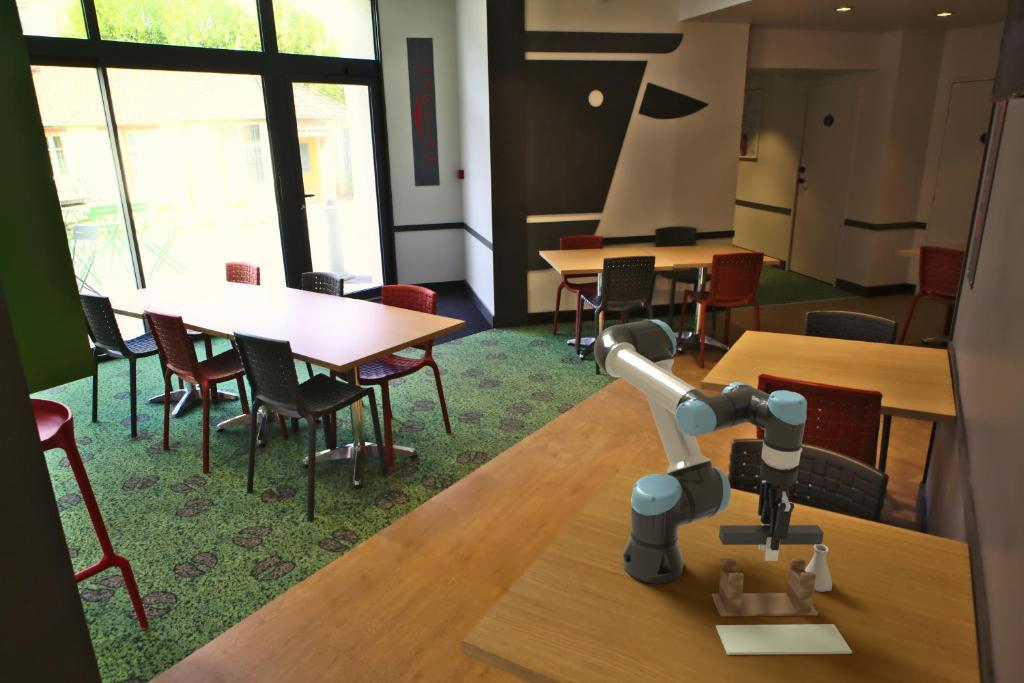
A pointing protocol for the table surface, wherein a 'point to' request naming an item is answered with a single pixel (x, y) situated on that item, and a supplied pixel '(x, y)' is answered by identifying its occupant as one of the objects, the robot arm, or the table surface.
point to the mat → (782, 639)
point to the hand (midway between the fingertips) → (767, 554)
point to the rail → (758, 532)
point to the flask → (820, 569)
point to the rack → (766, 594)
